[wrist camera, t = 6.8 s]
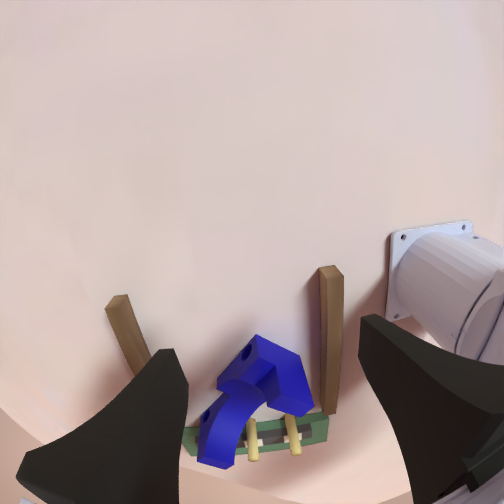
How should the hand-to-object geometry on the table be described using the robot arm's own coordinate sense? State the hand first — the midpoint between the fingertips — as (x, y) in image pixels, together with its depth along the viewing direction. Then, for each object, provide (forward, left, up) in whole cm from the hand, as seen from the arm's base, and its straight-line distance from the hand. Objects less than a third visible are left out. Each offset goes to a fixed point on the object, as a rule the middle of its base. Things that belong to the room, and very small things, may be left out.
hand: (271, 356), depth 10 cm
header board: (+3, +21, -10) cm, 23 cm away
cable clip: (+3, +12, -10) cm, 16 cm away
